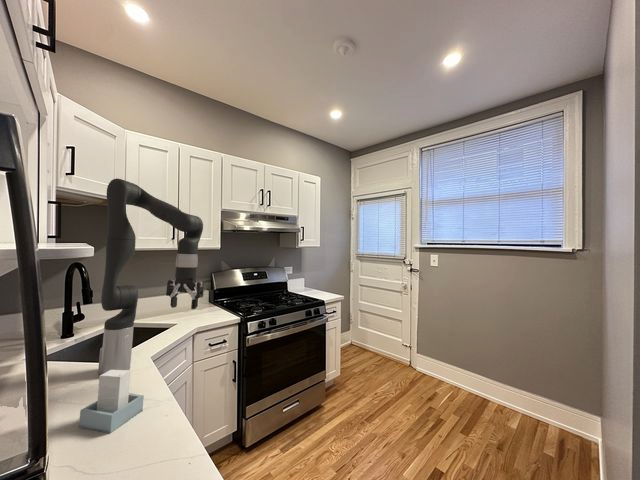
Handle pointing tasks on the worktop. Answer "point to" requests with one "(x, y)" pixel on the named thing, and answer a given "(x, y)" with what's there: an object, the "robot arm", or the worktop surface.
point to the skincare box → (113, 390)
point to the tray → (110, 415)
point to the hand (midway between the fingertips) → (183, 308)
